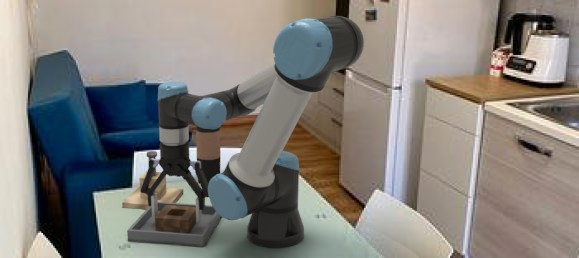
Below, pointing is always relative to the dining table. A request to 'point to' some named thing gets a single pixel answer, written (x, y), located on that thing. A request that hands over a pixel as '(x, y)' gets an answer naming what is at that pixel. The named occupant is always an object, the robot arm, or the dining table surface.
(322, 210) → the dining table surface
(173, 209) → the collar
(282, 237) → the robot arm
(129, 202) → the stake stand
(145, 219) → the tray
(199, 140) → the travel mug
